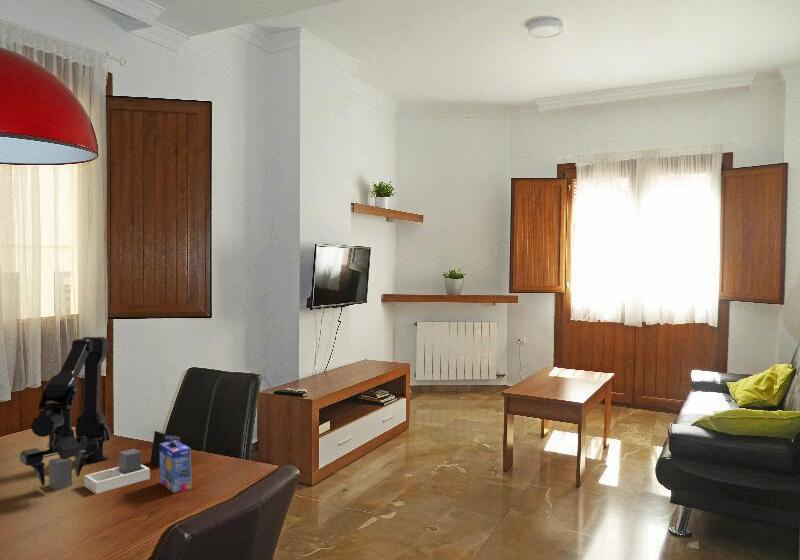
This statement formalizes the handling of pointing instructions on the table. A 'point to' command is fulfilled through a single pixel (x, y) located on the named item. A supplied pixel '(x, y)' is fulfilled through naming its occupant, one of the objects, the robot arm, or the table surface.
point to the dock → (114, 479)
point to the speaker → (157, 440)
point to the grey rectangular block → (60, 473)
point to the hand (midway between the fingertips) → (60, 480)
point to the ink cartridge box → (175, 465)
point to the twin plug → (129, 461)
